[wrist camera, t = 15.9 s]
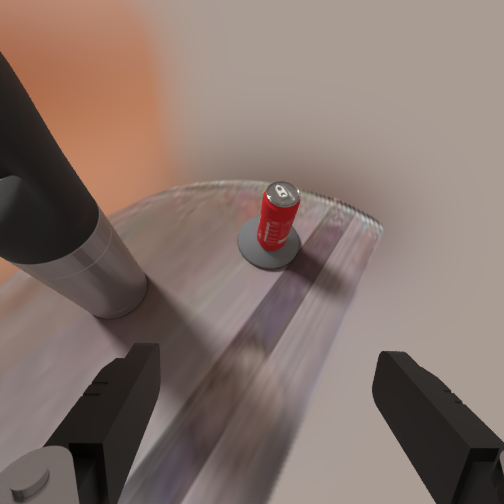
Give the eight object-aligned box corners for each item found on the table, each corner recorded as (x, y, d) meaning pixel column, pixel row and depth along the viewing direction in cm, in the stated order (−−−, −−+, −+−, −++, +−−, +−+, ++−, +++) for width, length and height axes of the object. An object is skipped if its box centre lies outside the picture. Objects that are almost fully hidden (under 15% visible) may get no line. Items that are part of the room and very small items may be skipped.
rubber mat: (225, 235, 46) (225, 233, 45) (271, 208, 50) (272, 206, 49) (264, 281, 42) (264, 279, 42) (310, 247, 46) (311, 245, 46)
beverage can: (263, 257, 44) (274, 212, 33) (251, 233, 46) (258, 184, 35) (290, 247, 45) (308, 202, 35) (277, 225, 47) (290, 176, 37)
